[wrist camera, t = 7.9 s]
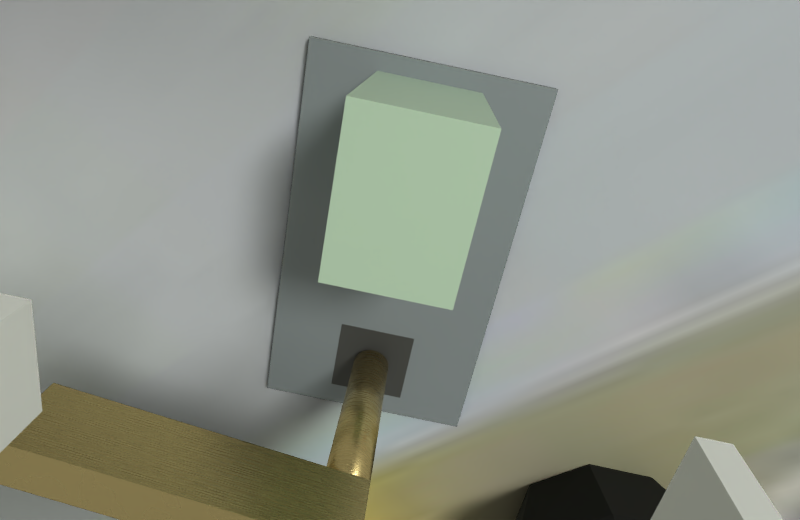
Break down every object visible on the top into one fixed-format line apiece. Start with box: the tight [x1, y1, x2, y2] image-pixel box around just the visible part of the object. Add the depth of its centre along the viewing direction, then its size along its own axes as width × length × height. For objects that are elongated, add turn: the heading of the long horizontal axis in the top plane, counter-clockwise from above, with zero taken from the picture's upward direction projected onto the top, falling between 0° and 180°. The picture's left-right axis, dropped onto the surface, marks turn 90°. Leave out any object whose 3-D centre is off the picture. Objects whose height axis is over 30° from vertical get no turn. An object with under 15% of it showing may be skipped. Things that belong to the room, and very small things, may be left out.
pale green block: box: [318, 71, 501, 310], centre depth 28 cm, size 8×6×11 cm
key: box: [0, 350, 388, 520], centre depth 31 cm, size 16×2×15 cm, turn 72°
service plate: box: [267, 36, 558, 427], centre depth 36 cm, size 24×14×1 cm, turn 169°
